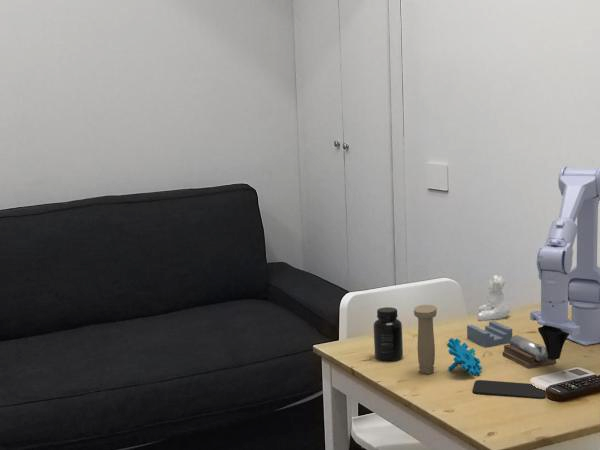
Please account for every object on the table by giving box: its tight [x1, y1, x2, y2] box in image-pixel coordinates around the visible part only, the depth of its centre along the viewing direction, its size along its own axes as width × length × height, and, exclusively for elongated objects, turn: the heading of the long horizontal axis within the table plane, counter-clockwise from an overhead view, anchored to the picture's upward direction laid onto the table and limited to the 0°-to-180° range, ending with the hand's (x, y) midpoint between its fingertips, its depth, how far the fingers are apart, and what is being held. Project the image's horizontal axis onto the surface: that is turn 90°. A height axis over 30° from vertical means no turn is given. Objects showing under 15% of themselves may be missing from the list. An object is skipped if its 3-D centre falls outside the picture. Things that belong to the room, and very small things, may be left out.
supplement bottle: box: [373, 306, 404, 362], centre depth 195 cm, size 7×7×12 cm
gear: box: [446, 337, 483, 376], centre depth 184 cm, size 11×6×10 cm
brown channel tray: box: [502, 344, 557, 369], centre depth 190 cm, size 8×10×2 cm
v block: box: [466, 320, 513, 348], centre depth 204 cm, size 8×8×4 cm
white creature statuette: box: [477, 274, 511, 322], centre depth 224 cm, size 10×9×12 cm
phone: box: [471, 379, 547, 400], centre depth 172 cm, size 7×1×15 cm
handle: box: [413, 304, 438, 375], centre depth 184 cm, size 5×6×15 cm
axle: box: [509, 334, 548, 362], centre depth 189 cm, size 10×4×4 cm, turn 21°
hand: (554, 358), depth 181 cm, fingers closed
